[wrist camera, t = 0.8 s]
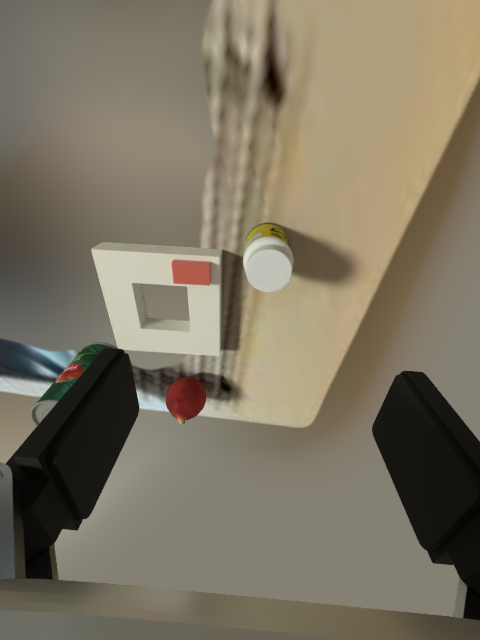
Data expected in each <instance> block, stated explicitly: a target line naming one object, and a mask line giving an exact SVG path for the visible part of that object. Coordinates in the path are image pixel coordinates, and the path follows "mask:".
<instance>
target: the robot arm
mask: <svg viewBox="0 0 480 640" xmlns="http://www.w3.org/2000/svg"><path fill="white" fill-rule="evenodd" d="M138 412H139V403H138V398H137V393H136V388H135V383H134V378H133V373H132V368H131V363H130V359H129V355H128V354H126V353H124V351H123V349H115V348H104V349H103V350H102V351H101V352H100V353H99V354H98V356H97V357H96V358H95V359H94V360H93V362H92V363H91V364H90V365H89V366H88V368H87V369H86V370H85V371H84V372H83V374H82V375H81V376H80V377H79V378H78V379H77V381H76V382H75V383H74V384H73V385H72V386H71V387H70V388H69V389H68V390H67V392H66V393H65V394H64V395H63V396H62V397H61V399H60V400H59V401H58V402H57V403H56V405H55V406H54V407H53V408H52V409H51V411H50V412H49V413H48V414H47V415H46V416H45V418H44V419H43V420H42V421H41V422H40V424H39V425H38V426H37V427H36V429H35V430H34V431H33V432H32V433H31V434H30V435H29V437H28V438H27V439H26V440H25V441H24V443H23V444H22V445H21V446H20V447H19V449H18V450H17V451H16V452H15V453H14V455H13V456H12V457H11V458H10V459H9V460H8V462H7V463H6V464H5V463H0V640H480V442H479V440H478V439H477V438H476V437H475V435H474V434H473V433H472V432H471V430H470V429H469V428H468V427H467V425H466V424H465V423H464V422H463V420H462V419H461V418H460V417H459V416H458V414H457V413H456V412H455V411H454V409H453V408H452V407H451V405H450V404H449V403H448V402H447V400H446V399H445V398H444V397H443V396H442V394H441V393H440V392H439V391H438V389H437V388H436V387H435V386H434V384H433V383H432V382H431V381H430V379H429V378H428V377H427V376H426V375H425V374H424V373H422V372H414V371H403V372H401V374H400V375H397V376H396V377H395V379H394V381H393V383H392V385H391V387H390V389H389V392H388V394H387V396H386V398H385V400H384V402H383V404H382V407H381V409H380V411H379V413H378V415H377V417H376V419H375V422H374V424H373V426H372V432H373V436H374V439H375V441H376V443H377V446H378V448H379V450H380V452H381V455H382V457H383V459H384V462H385V464H386V467H387V469H388V471H389V473H390V476H391V478H392V480H393V483H394V485H395V488H396V490H397V492H398V494H399V497H400V499H401V502H402V504H403V506H404V508H405V511H406V513H407V515H408V518H409V520H410V523H411V525H412V527H413V529H414V532H415V534H416V537H417V539H418V541H419V543H420V545H421V546H422V547H423V548H424V549H425V550H427V551H428V553H429V556H430V558H431V561H432V562H433V563H437V564H447V565H453V564H454V566H455V568H456V570H457V572H458V574H459V583H458V589H457V596H456V602H455V608H454V615H453V617H449V616H438V615H429V614H418V613H409V612H399V611H390V610H379V609H370V608H359V607H350V606H340V605H330V604H320V603H309V602H298V601H289V600H279V599H268V598H258V597H247V596H237V595H226V594H216V593H205V592H194V591H183V590H172V589H161V588H149V587H139V586H128V585H117V584H107V583H91V582H78V581H63V580H59V579H58V570H57V563H56V555H55V548H54V547H55V546H54V543H55V541H56V540H57V538H58V536H59V534H60V532H61V530H62V529H69V530H78V528H79V526H80V524H81V522H82V520H83V519H86V518H88V517H89V515H90V514H91V513H92V511H93V509H94V507H95V504H96V502H97V500H98V498H99V496H100V494H101V492H102V490H103V488H104V485H105V483H106V481H107V479H108V477H109V475H110V473H111V471H112V468H113V467H114V465H115V462H116V460H117V458H118V456H119V454H120V452H121V450H122V448H123V446H124V444H125V441H126V439H127V437H128V435H129V433H130V431H131V429H132V427H133V425H134V423H135V421H136V418H137V416H138Z"/></svg>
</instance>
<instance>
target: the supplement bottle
mask: <svg viewBox="0 0 480 640" xmlns="http://www.w3.org/2000/svg"><path fill="white" fill-rule="evenodd" d="M293 263H294V258H293V253H292V250H291V247H290V244H289V241H288V238H287V235H286V233H285V232H284V230H283V229H282V228H281V227H280V226H278V225H276V224H274V223H269V222H265V223H261V224H258V225H256V226H255V227H253V228H252V229H251V230H250V232H249V233H248V235H247V238H246V243H245V250H244V256H243V265H244V269H245V272H246V274H247V278H248V280H249V282H250V284H251V285H252V286H253V287H254V288H256V289H257V290H260V291H263V292H274V291H278V290H280V289H281V288H283V287H284V286H285V285H286V284H287V283H288V282H289V280H290V278H291V275H292V268H293Z"/></svg>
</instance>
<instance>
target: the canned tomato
mask: <svg viewBox="0 0 480 640" xmlns="http://www.w3.org/2000/svg"><path fill="white" fill-rule="evenodd" d="M104 348H115V349H118V348H117V347H115V346H113V345H111V344H108V343H102V342H95V343H90V344H88V345H86V346H85V347H84V348H83V349H82V350H81V352H80V353H79V354H78V355H77V356H76V357H75V358H74V360H73V361H72V362H71V363H70V364H69V366H68V367H67V368H66V369H65V370H64V371H63V372H62V374H61V375H60V376H59V377H58V379H56V381H55V382H54V383H53V384H52V385H51V387H50V388H49V389H48V390H47V391H46V393H44V395H43V396H42V397H41V398H40V400H39V401H38V402H37V403H36V404H35V405H34V406H33V407H32V408H31V411H30V416H31V419H32V421H33V422H34V424H35V425H36V426H38V425H39V424H40V422H41V421H42V420H43V419H44V418H45V416H46V415H47V414H48V413H49V412H50V411H51V409H52V408H53V407H54V406H55V405H56V403H57V402H58V401H59V400H60V399H61V397H62V396H63V395H64V394H65V393H66V392H67V390H68V389H69V388H70V387H71V386H72V385H73V384H74V383H75V382H76V381H77V379H78V378H79V377H80V376H81V375H82V374H83V372H84V371H85V370H86V369H87V368H88V366H89V365H90V364H91V363H92V362H93V360H94V359H95V358H96V357H97V356H98V354H99V353H100V352H101V351H102V350H103V349H104ZM130 363H131V361H130ZM131 368H132V364H131Z"/></svg>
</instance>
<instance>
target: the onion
mask: <svg viewBox="0 0 480 640" xmlns="http://www.w3.org/2000/svg"><path fill="white" fill-rule="evenodd" d="M205 402H206V392H205V389H204V387H203V385H202V384H201V383H200V382H199V381H198V380H196V379H195V378H193V377H183V378H180V379H177V380H176V381H175V382H173V383H172V384H171V385H170V387H169V388H168V390H167V396H166V406H167V408H168V410H169V411H170V413H171V414H172V416H174V417H175V418H176V419H177V420H178V421H179V423H180V424H184V423H185V420H189V419H191V418H193V417H195V416H197V415H198V414H199V413H200V411H201V410H202V409H203V407H204V405H205Z"/></svg>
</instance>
